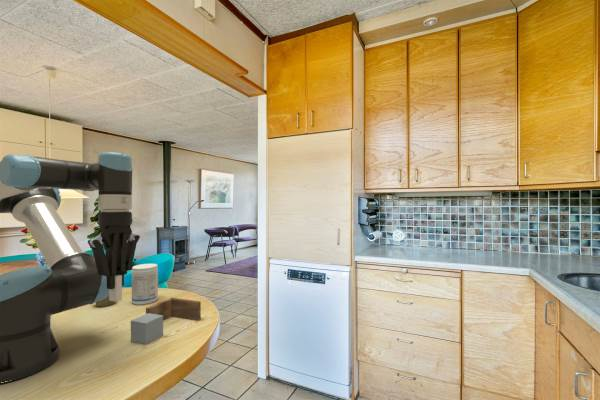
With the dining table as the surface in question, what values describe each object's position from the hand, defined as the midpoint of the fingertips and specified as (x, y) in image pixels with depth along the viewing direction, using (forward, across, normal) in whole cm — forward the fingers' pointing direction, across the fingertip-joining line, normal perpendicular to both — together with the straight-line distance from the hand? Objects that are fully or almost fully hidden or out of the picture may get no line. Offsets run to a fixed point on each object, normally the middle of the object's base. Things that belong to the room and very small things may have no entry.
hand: (115, 300), depth 74 cm
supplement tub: (+15, +34, +29) cm, 47 cm away
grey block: (+15, +10, 0) cm, 18 cm away
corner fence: (+14, +21, +1) cm, 26 cm away
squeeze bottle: (+14, +26, +41) cm, 51 cm away
